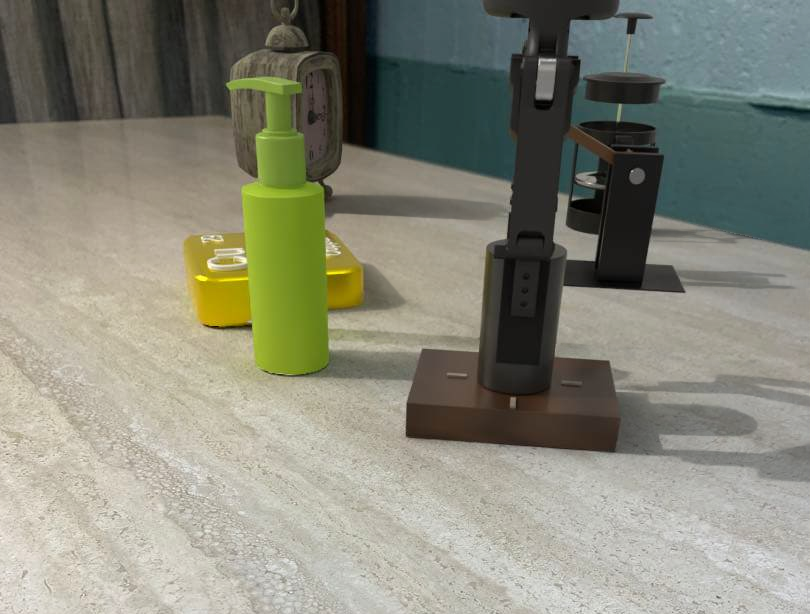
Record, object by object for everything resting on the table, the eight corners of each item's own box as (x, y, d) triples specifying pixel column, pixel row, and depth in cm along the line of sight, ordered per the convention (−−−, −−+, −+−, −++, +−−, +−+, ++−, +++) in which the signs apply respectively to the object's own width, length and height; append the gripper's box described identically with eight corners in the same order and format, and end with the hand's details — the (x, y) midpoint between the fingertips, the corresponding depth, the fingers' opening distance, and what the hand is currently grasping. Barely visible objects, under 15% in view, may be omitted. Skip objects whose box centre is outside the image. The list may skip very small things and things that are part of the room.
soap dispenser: (280, 339, 73) (263, 71, 62) (344, 358, 70) (338, 79, 59) (230, 360, 69) (202, 77, 58) (295, 381, 66) (279, 86, 55)
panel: (604, 391, 66) (610, 358, 64) (615, 452, 57) (621, 415, 56) (421, 379, 67) (422, 346, 65) (405, 436, 58) (406, 400, 57)
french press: (558, 222, 109) (583, 9, 97) (633, 225, 109) (668, 11, 96) (567, 247, 100) (596, 14, 87) (650, 250, 99) (691, 16, 86)
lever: (506, 120, 79) (527, 81, 77) (507, 115, 82) (527, 77, 80) (636, 199, 81) (660, 163, 79) (633, 191, 84) (655, 156, 82)
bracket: (557, 296, 84) (574, 155, 77) (555, 270, 92) (570, 139, 85) (682, 304, 83) (711, 161, 76) (670, 276, 91) (695, 144, 84)
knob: (477, 363, 63) (487, 231, 58) (549, 367, 63) (565, 235, 57) (475, 392, 59) (485, 252, 53) (552, 396, 58) (570, 256, 53)
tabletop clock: (300, 220, 108) (289, -20, 94) (235, 213, 110) (215, -22, 96) (344, 196, 119) (340, -20, 105) (284, 191, 121) (273, -22, 108)
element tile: (368, 317, 78) (368, 264, 76) (200, 330, 74) (193, 274, 72) (332, 270, 90) (331, 222, 87) (185, 279, 86) (179, 230, 84)
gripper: (495, -63, 56) (473, 280, 68) (475, -80, 37) (450, 396, 50) (612, -60, 55) (568, 285, 68) (652, -76, 37) (581, 405, 49)
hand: (518, 332), depth 59 cm, fingers open, 10 cm apart
